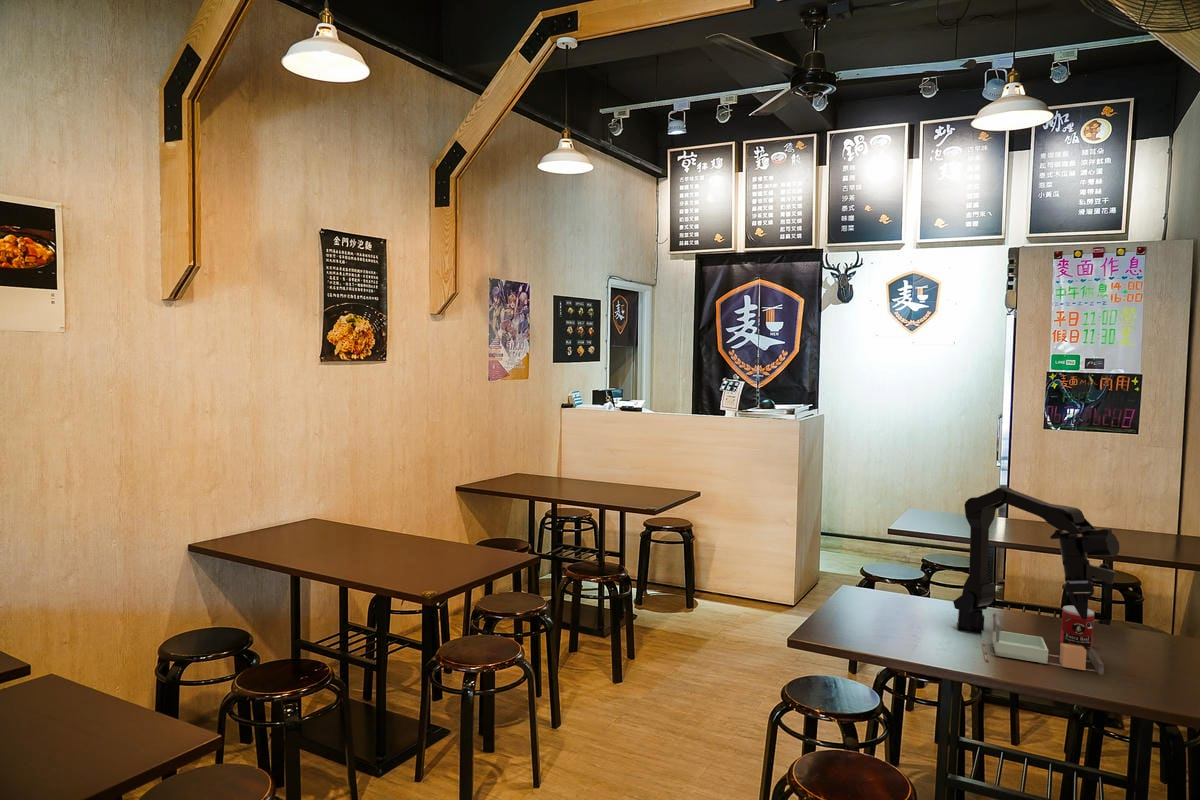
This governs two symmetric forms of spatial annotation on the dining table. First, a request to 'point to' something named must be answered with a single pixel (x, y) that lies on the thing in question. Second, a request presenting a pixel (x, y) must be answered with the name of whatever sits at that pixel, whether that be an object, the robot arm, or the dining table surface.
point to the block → (1073, 656)
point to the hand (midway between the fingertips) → (1084, 616)
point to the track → (1092, 656)
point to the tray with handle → (1018, 645)
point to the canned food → (1077, 628)
